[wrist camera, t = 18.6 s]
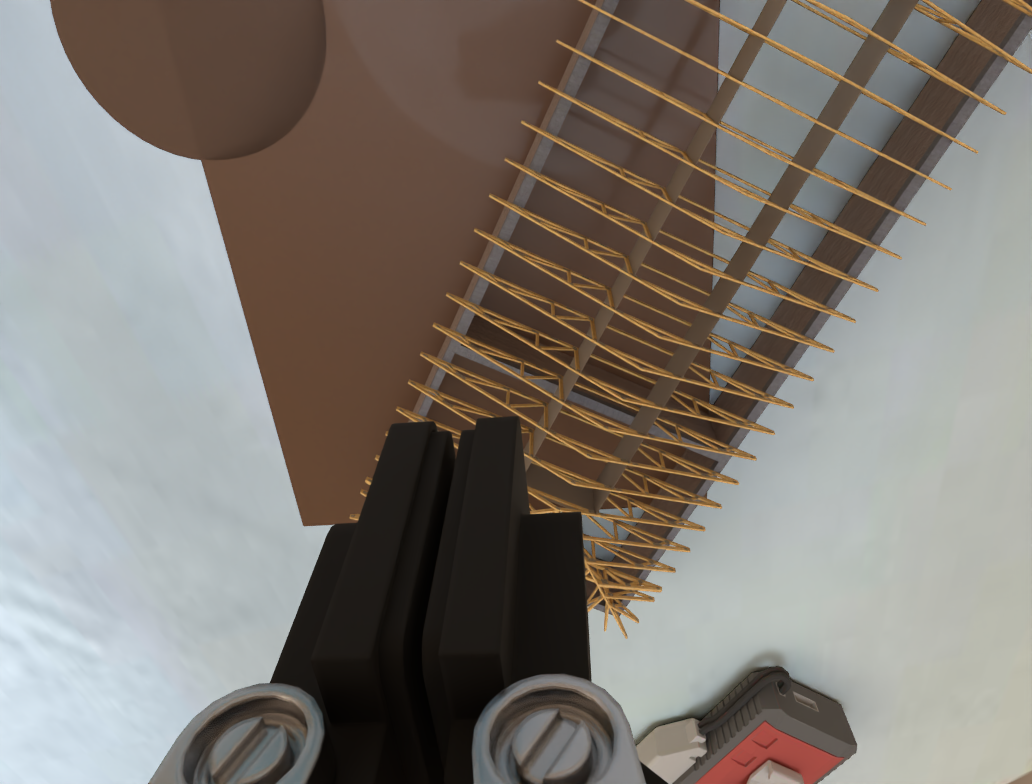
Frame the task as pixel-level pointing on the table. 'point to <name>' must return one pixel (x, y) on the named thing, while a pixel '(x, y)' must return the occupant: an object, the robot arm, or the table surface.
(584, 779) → the robot arm
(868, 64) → the rafter model
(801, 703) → the walkie-talkie
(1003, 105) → the table surface
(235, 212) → the brown flat board
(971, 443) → the table surface
